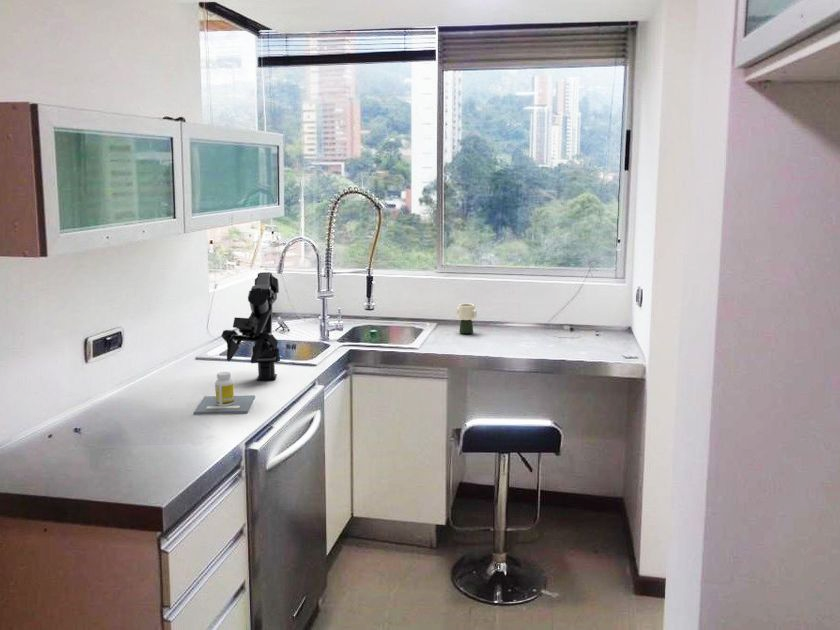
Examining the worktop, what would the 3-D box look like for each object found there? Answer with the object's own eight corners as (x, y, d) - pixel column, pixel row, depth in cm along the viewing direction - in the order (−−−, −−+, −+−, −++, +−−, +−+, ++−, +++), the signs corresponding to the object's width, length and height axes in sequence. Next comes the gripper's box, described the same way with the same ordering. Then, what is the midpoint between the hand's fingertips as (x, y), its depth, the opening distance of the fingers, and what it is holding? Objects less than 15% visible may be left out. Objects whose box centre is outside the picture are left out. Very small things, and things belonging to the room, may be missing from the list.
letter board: (204, 398, 248) (204, 396, 248) (254, 397, 249) (254, 394, 249) (194, 414, 232) (193, 411, 232) (247, 413, 233) (247, 410, 233)
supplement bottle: (237, 402, 241) (235, 371, 239) (228, 407, 236) (226, 376, 234) (222, 400, 243) (220, 370, 241) (212, 405, 238) (211, 375, 236)
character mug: (480, 333, 343) (481, 305, 340) (471, 336, 338) (471, 307, 335) (461, 330, 350) (461, 302, 347) (451, 332, 345) (452, 304, 342)
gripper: (221, 305, 250) (202, 346, 242) (269, 308, 242) (251, 350, 235) (239, 324, 258) (221, 364, 251) (285, 327, 251) (268, 368, 243)
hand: (239, 361), depth 245 cm, fingers open, 9 cm apart
